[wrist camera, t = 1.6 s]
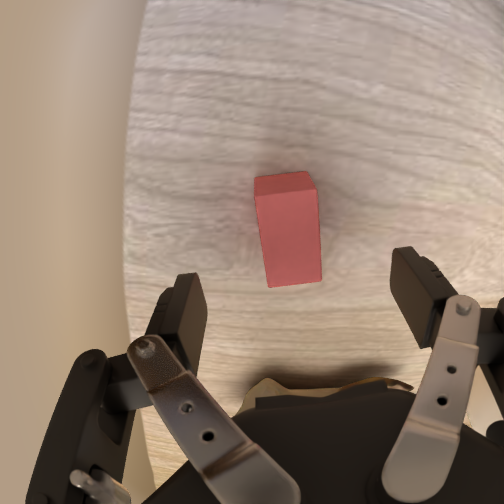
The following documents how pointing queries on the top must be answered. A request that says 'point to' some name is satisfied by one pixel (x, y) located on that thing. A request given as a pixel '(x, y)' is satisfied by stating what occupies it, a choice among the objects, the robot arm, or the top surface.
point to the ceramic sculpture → (307, 390)
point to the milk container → (485, 410)
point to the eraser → (289, 228)
